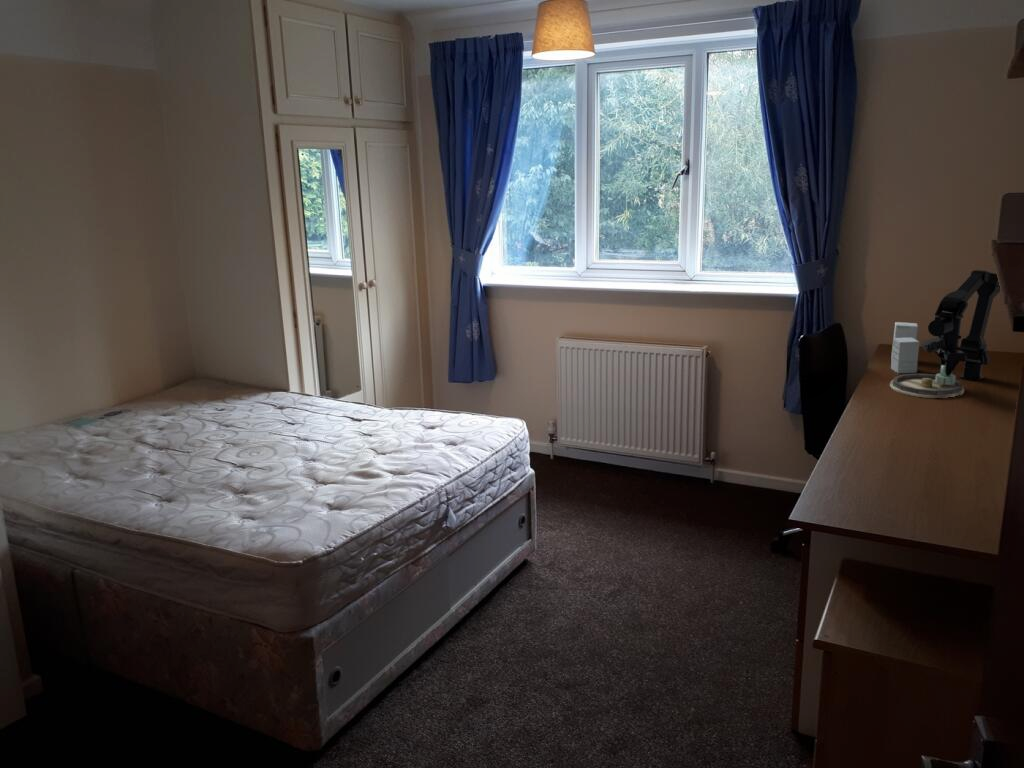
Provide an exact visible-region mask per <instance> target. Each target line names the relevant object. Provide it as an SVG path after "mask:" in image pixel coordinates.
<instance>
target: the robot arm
mask: <svg viewBox="0 0 1024 768" xmlns="http://www.w3.org/2000/svg"><path fill="white" fill-rule="evenodd" d="M997 274H998V273H997ZM997 274H996V272H995V273H994V272H990V271H987V270H981V269H975V270H972V271H971V273H970V275H969V276H968V278H966V280H965V281H964V282H962V284H961V285H960V286H959V287H958V288H957V289H956V290H954V291H951V292H949V293H948V294H946V295H945V296H944V297H942V299H941V300H940V303H939V305H938V307H937V309H936V311H935V313H934V319H933V320H931V321H930V323H929V324H928V326H927V330H928V333H929V334H930V335H931V336H933V337H934V338H931V339H928V340H925V341H922V342H921V344H922V346H923V347H922V348H923V350H924V352H926V353H927V354H930V353H932V352H934V354H935V355H936V356H937V357H939V362H940V366H941V365H945V371H946V376H949V375H950V374H951V373H952V374H953V372H954V370H955V368H956V367H957V366H958V365H959V363H960V362H962V363H963V362H964V364H963V365H964V367H963V374H961V375H958V378H960V379H964V380H969V381H972V382H973V381H975V382H978V381H980V380H983V379H985V378H986V377H985V376H983V375H982V370H983V369H982V368H983V366H986V365H988V364H989V363H990V358H991V357H990V355H989V352H988V351H987V346H988V345H987V342H986V339H985V333H986V329H987V324H988V321H989V316H990V313H991V309H992V305H993V300H994V298H995V297H996V296H997V295H998V294H999V293H1001V291H1002V289H1001V290H1000V286H999V282H998V278H997ZM975 292H976V293H977V296H978V297H977V300H976V304H975V309H974V313H973V317H972V320H971V324H970V329H969V333H968V335H967V336H966V337H965V338H964V337H963V338H962V335H961V333H960V332H961V324H962V319H963V318H964V317H965V316H964V313H965V311H966V309H967V308H968V306H969V302H968V301H969V299H971V297H972V296H973V295H974V294H975ZM960 341H961V342H960ZM959 343H960V346H959Z"/></svg>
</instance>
